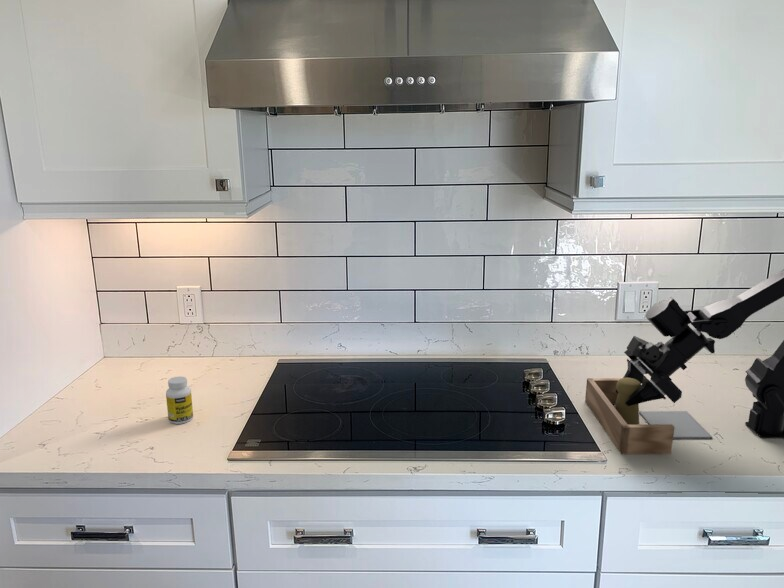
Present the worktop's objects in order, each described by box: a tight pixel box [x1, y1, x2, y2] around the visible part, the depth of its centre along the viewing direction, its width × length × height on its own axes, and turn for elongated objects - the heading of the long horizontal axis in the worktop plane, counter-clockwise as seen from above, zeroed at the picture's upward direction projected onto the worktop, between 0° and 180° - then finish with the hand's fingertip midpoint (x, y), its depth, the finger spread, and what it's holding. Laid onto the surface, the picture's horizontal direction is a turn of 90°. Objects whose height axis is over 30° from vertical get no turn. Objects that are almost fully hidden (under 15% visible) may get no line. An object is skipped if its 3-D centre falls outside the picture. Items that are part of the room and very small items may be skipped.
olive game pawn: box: [614, 377, 642, 425], centre depth 138 cm, size 6×6×11 cm
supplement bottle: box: [165, 375, 194, 425], centre depth 141 cm, size 5×5×10 cm
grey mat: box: [639, 410, 713, 440], centre depth 139 cm, size 11×12×1 cm
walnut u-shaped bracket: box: [584, 377, 675, 455], centre depth 138 cm, size 10×24×6 cm, turn 0°
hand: (621, 398), depth 137 cm, fingers open, 6 cm apart
